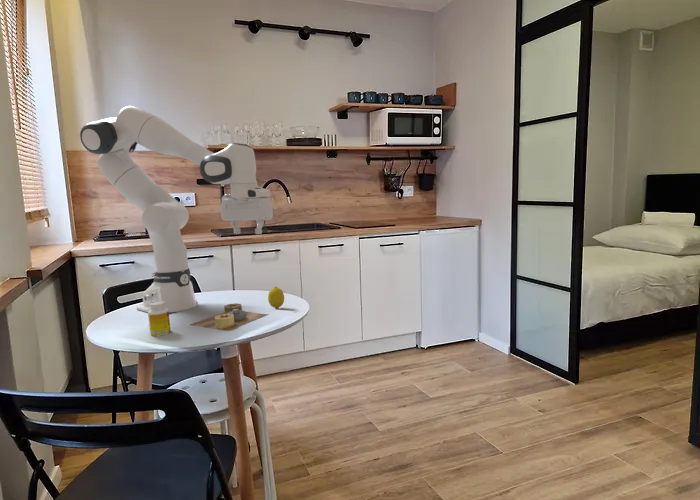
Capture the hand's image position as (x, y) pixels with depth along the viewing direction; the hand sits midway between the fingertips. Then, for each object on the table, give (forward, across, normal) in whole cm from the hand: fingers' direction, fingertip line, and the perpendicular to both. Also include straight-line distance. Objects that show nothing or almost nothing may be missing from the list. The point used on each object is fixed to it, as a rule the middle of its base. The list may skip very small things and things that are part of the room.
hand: (247, 233), depth 154 cm
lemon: (+27, +6, +5) cm, 28 cm away
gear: (+26, +6, -20) cm, 33 cm away
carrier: (+27, +2, -14) cm, 30 cm away
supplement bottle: (+27, -8, -32) cm, 43 cm away
